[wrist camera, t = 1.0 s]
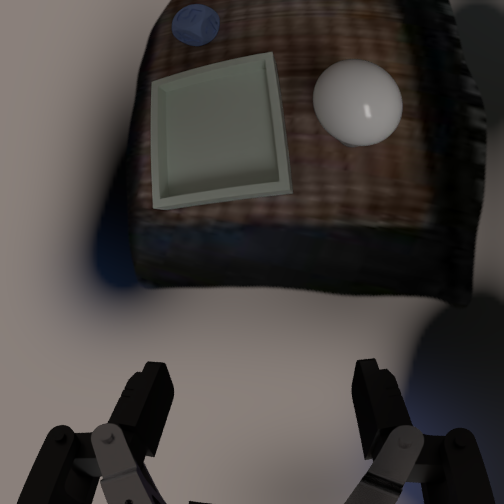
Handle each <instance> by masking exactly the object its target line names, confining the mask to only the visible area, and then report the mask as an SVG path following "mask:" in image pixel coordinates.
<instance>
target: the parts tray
mask: <svg viewBox="0 0 504 504" xmlns="http://www.w3.org/2000/svg"><path fill="white" fill-rule="evenodd" d="M151 171H152V195H153V208H154V209H162V210H169V209H176V208H182V207H189V206H196V205H203V204H210V203H218V202H225V201H233V200H241V199H249V198H257V197H266V196H275V195H284V194H293V187H292V178H291V169H290V160H289V152H288V144H287V135H286V128H285V120H284V113H283V105H282V98H281V91H280V84H279V77H278V71H277V64H276V61H275V58H274V56H273V53H272V52H268V53H262V54H256V55H251V56H246V57H241V58H236V59H231V60H227V61H223V62H218V63H214V64H210V65H206V66H202V67H199V68H195V69H191V70H188V71H184V72H181V73H178V74H174V75H171V76H168V77H165V78H162V79H159V80H156V81H153V82H152V89H151Z"/></svg>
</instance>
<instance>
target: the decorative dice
mask: <svg viewBox="0 0 504 504" xmlns="http://www.w3.org/2000/svg"><path fill="white" fill-rule="evenodd" d="M219 26H220V20H219V16H218V14H217V13H216V12H215V11H214V10H213V9H211V8H210V7H208V6H205V5H201V4H192V5H189V6H186V7H184V8H182V9H181V10H180V11H179V12H178V13H177V14H176V15H175V17H174V19H173V21H172V32H173V35H174V36H175V37H176V38H177V39H178V40H180V41H181V42H183V43H185V44H188V45H192V46H201V45H204V44H207V43H209V42H210V41H211V40H213V39H214V38H215V36H216V35H217V33H218V30H219Z"/></svg>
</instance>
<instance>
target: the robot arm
mask: <svg viewBox="0 0 504 504" xmlns="http://www.w3.org/2000/svg"><path fill="white" fill-rule="evenodd" d="M173 398H174V387H173V383H172V381H171V378H170V375H169V372H168V369H167V366H166V364H165V363H162V362H149V361H148V362H147V363H146V364H145V366H144V369H143V371H142V372H136V373H135V374H134V375H133V376H132V377H131V378H130V379H129V380H128V382H127V384H126V386H125V390H123V392H122V394H121V397H120V398H119V400H118V402H117V404H116V406H115V409H114V411H113V413H112V415H111V417H110V419H109V421H108V423H106V424H102V425H100V426H98V427H97V428H96V429H95V430H94V431H93V432H91V433H74V432H73V430H72V429H71V428H70V427H68V426H66V425H60V426H56V427H54V428H53V429H52V430H50V432H49V433H48V435H47V437H46V439H45V441H44V443H43V445H42V447H41V449H40V451H39V454H38V456H37V458H36V460H35V462H34V464H33V466H32V469H31V471H30V473H29V476H28V478H27V480H26V482H25V485H24V487H23V489H22V492H21V494H20V497H19V499H18V502H17V504H92V501H93V498H94V494H95V491H96V488H97V485H98V482H99V479H100V476H103V479H102V480H101V481H100V483H101V487H102V489H103V492H104V495H105V497H106V500H107V503H108V504H166V502H165V501H164V500H163V498H162V496H161V495H160V493H159V491H158V489H157V488H156V486H155V484H154V482H153V480H152V478H151V476H150V474H149V472H148V470H147V468H146V466H145V464H144V459H145V456H151V457H155V454H156V451H157V448H158V445H159V441H160V438H161V435H162V432H163V428H164V426H165V423H166V420H167V416H168V413H169V411H170V407H171V405H172V401H173ZM352 399H353V404H354V408H355V413H356V418H357V423H358V428H359V433H360V438H361V443H362V448H363V453H364V458H365V460H368V459H373V464H372V465H371V467H370V468H369V470H368V471H367V473H366V474H365V475H364V477H363V478H362V479H361V481H360V482H359V484H358V485H357V487H356V488H355V489H354V491H353V492H352V494H351V495H350V496H349V498H348V499H347V501H346V502H345V503H344V504H395V503H396V501H397V500H398V498H399V496H400V494H401V492H402V488H403V486H404V484H405V482H418V483H421V487H422V493H423V498H424V504H495V501H494V497H493V493H492V489H491V486H490V482H489V479H488V475H487V472H486V469H485V466H484V462H483V459H482V456H481V454H480V451H479V448H478V445H477V442H476V439H475V437H474V435H473V434H472V433H471V432H470V431H469V430H467V429H464V428H456V429H453V430H451V431H450V432H448V434H447V435H446V436H432V435H425V434H422V432H421V431H420V430H419V429H417V428H416V427H414V426H413V425H412V423H411V420H410V417H409V414H408V411H407V408H406V406H405V403H404V400H403V397H402V396H401V392H400V389H399V388H398V384H397V381H396V379H395V377H394V375H393V374H391V372H389V370H387V369H382V370H379V368H378V364H377V362H376V359H375V358H373V359H364V360H357V362H356V366H355V371H354V376H353V382H352ZM189 504H210V503H201V502H193V501H189Z"/></svg>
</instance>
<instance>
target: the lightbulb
mask: <svg viewBox="0 0 504 504" xmlns="http://www.w3.org/2000/svg"><path fill="white" fill-rule="evenodd" d="M313 106H314V111H315V114H316V116H317V118H318V120H319V122H320V124H321V125H322V126H323V128H324V129H325V130H326V131H327V132H328V133H329V134H330V135H332V136H333V137H334V138H336V139H337V140H339V141H340V142H341V143H342V144H343V145H345V146H347V147H357V146H368V145H373V144H376V143H379V142H381V141H383V140H385V139H386V138H387V137H389V136H390V135H391V134H392V133H393V132H394V130H395V129H396V127H397V126H398V124H399V122H400V119H401V115H402V108H403V104H402V97H401V93H400V90H399V88H398V86H397V84H396V82H395V81H394V79H393V78H392V77H391V76H390V75H389V73H387V72H386V71H385V70H384V69H383V68H381V67H380V66H378V65H376V64H374V63H372V62H369V61H366V60H361V59H347V60H342V61H339V62H336V63H334V64H333V65H331V66H329V67H328V68H327V69H326V70H325V71H324V72H323V73H322V74H321V75H320V77H319V78H318V80H317V82H316V84H315V87H314V91H313Z"/></svg>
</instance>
